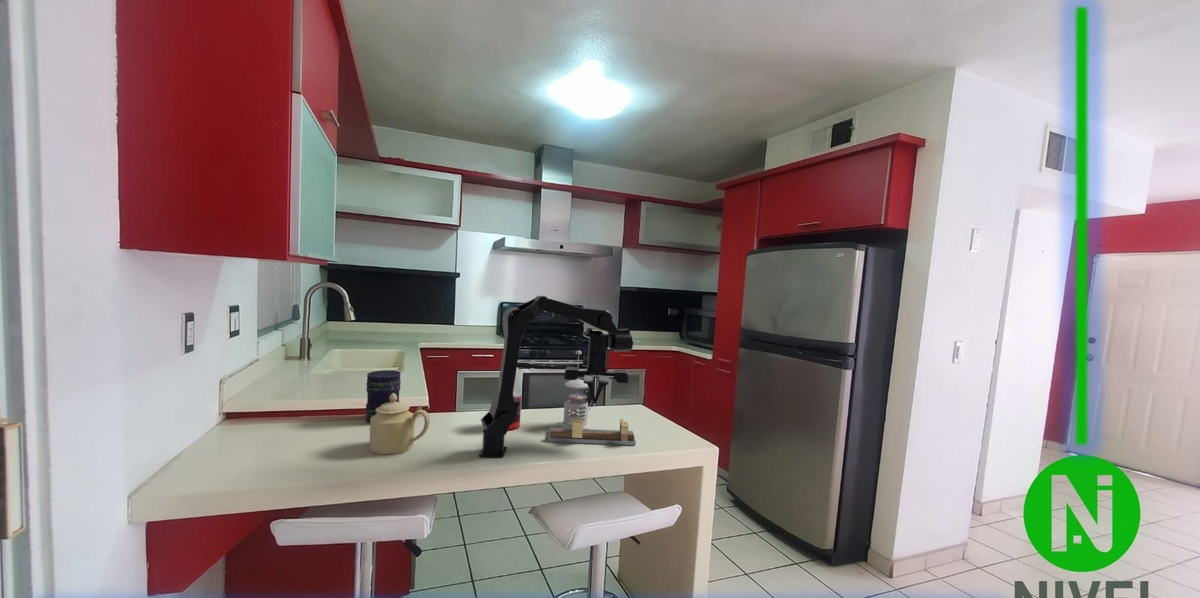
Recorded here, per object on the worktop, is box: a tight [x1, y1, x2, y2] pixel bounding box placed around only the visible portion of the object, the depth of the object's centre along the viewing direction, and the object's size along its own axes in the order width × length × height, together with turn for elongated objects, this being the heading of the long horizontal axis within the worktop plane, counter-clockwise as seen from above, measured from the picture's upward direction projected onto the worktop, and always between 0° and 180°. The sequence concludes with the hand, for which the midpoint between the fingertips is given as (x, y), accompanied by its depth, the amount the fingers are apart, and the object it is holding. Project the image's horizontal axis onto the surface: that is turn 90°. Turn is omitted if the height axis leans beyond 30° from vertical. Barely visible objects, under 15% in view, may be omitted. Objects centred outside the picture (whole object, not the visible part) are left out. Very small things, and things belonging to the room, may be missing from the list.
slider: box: [572, 417, 583, 438], centre depth 134 cm, size 7×3×5 cm, turn 2°
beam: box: [549, 418, 635, 441], centre depth 134 cm, size 7×25×5 cm, turn 92°
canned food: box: [507, 389, 522, 432], centre depth 141 cm, size 8×8×11 cm
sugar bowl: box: [369, 393, 431, 456], centre depth 121 cm, size 15×11×15 cm
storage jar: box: [365, 369, 402, 425], centre depth 142 cm, size 10×10×15 cm
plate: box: [547, 427, 637, 446], centre depth 135 cm, size 9×26×1 cm, turn 92°
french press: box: [560, 350, 595, 429], centre depth 146 cm, size 10×12×25 cm
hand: (594, 403), depth 132 cm, fingers closed
